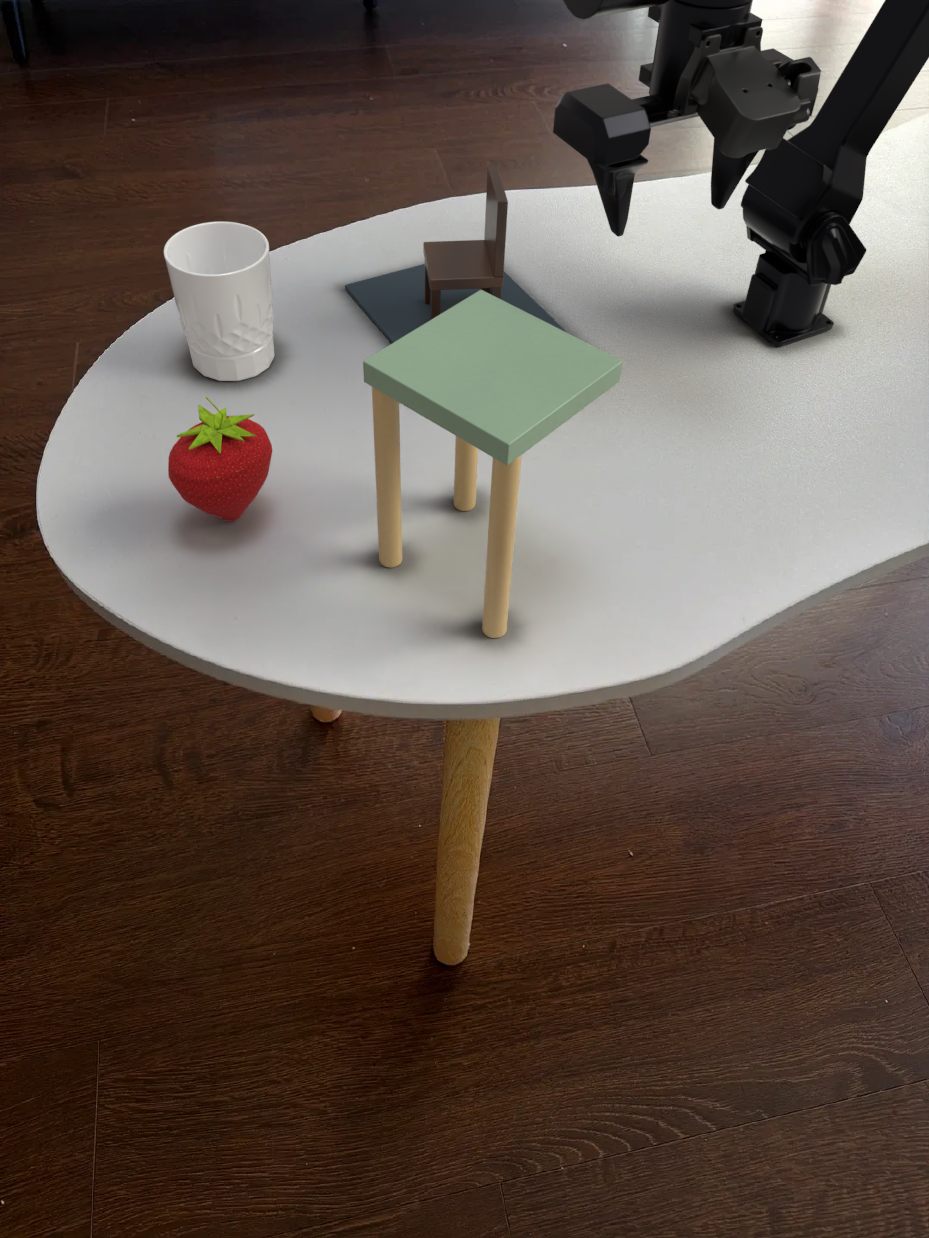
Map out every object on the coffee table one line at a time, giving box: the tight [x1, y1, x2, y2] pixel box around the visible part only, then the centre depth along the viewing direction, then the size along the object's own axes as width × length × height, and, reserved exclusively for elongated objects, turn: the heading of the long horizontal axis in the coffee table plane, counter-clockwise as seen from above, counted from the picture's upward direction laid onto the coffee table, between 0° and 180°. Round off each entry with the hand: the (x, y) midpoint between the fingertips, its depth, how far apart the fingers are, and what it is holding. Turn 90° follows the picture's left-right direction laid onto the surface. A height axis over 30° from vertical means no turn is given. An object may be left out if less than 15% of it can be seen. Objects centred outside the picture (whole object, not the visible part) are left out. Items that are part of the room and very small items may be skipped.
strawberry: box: [167, 395, 273, 522], centre depth 74 cm, size 6×8×10 cm
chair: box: [422, 164, 509, 320], centre depth 91 cm, size 6×6×12 cm
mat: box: [344, 263, 568, 344], centre depth 95 cm, size 14×18×1 cm
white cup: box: [163, 221, 275, 382], centre depth 87 cm, size 8×8×10 cm
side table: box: [362, 290, 624, 639], centre depth 70 cm, size 10×11×16 cm
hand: (667, 220), depth 82 cm, fingers open, 9 cm apart
